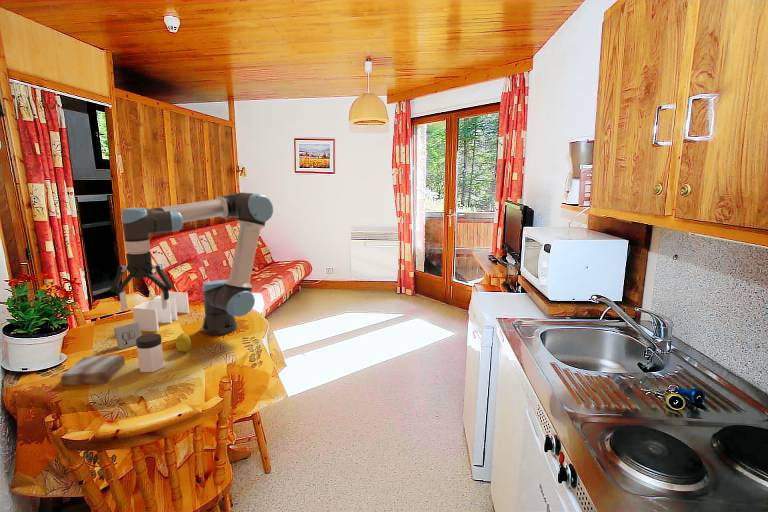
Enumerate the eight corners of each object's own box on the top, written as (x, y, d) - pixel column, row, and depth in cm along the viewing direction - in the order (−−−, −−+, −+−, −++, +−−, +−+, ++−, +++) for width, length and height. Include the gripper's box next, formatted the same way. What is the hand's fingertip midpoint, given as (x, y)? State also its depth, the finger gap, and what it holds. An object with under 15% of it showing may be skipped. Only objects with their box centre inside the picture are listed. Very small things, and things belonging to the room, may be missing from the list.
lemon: (174, 351, 167) (172, 333, 165) (188, 347, 171) (187, 329, 169) (179, 356, 163) (177, 337, 161) (193, 352, 167) (192, 333, 165)
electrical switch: (119, 350, 167) (115, 328, 166) (114, 348, 170) (110, 326, 169) (143, 343, 174) (140, 322, 173) (138, 341, 178) (135, 320, 176)
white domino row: (169, 311, 212) (167, 291, 210) (189, 313, 211) (187, 292, 208) (135, 330, 188) (132, 307, 185) (157, 332, 186) (155, 309, 184)
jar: (156, 360, 160) (153, 331, 157) (169, 364, 156) (166, 335, 153) (133, 369, 152) (129, 339, 149) (147, 375, 148) (143, 344, 146)
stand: (124, 364, 156) (123, 354, 155) (107, 382, 142) (105, 372, 142) (84, 366, 154) (82, 356, 153) (62, 385, 140) (60, 375, 139)
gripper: (179, 249, 150) (184, 304, 155) (104, 250, 146) (112, 306, 150) (172, 253, 143) (177, 311, 147) (93, 254, 139) (102, 313, 143)
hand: (144, 308), depth 149 cm, fingers open, 13 cm apart
